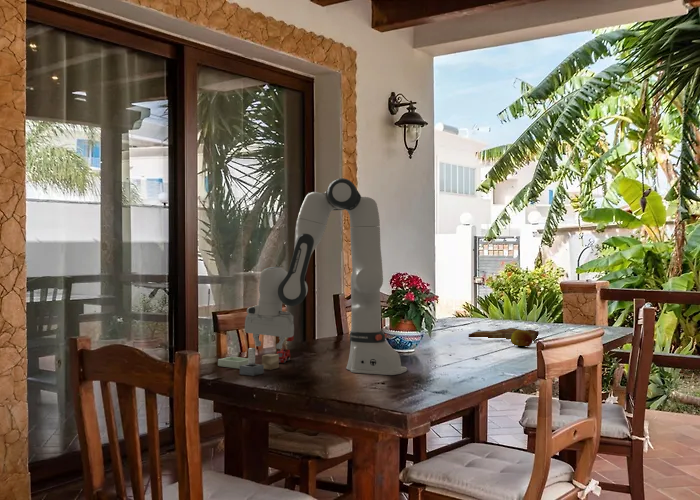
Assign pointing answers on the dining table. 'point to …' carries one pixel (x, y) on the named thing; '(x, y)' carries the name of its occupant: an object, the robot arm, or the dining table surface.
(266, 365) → the block
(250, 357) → the pin
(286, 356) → the toy fire truck
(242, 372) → the socket block
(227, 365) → the tray
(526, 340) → the fruit
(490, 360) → the dining table surface
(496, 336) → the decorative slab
